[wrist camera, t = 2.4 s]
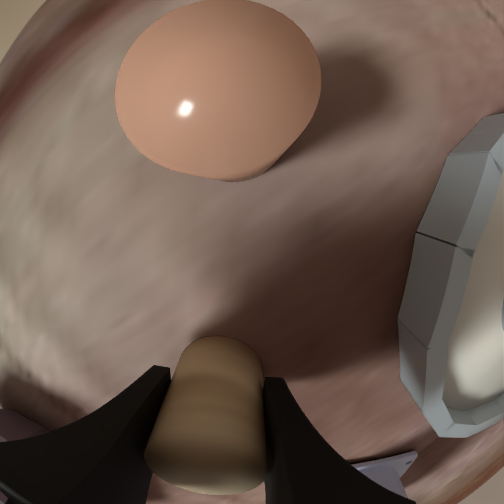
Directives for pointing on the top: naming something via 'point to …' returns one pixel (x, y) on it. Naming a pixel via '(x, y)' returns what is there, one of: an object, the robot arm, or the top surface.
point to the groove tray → (459, 291)
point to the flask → (17, 430)
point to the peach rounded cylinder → (218, 89)
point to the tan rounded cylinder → (212, 420)
